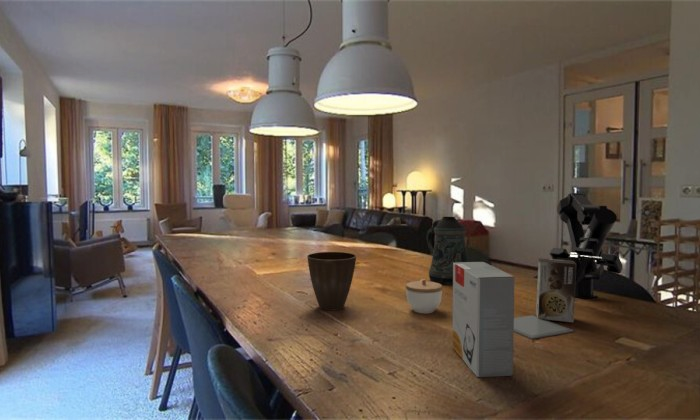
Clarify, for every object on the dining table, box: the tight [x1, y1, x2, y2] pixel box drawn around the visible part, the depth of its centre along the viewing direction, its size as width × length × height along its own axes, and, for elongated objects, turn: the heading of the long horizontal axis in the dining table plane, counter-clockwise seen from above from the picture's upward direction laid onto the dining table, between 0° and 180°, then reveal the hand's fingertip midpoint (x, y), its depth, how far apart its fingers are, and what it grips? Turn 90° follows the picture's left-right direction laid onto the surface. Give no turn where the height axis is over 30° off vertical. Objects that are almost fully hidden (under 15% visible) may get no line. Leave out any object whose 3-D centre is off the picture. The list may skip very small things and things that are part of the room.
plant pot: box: [306, 251, 357, 311], centre depth 133 cm, size 15×15×16 cm
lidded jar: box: [405, 278, 443, 314], centre depth 129 cm, size 11×11×9 cm
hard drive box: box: [451, 261, 515, 378], centre depth 91 cm, size 16×8×20 cm, turn 5°
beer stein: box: [426, 216, 469, 286], centre depth 170 cm, size 16×19×25 cm
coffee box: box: [535, 257, 576, 323], centre depth 121 cm, size 9×6×16 cm
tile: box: [514, 314, 575, 340], centre depth 114 cm, size 14×14×1 cm
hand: (574, 282), depth 126 cm, fingers closed
